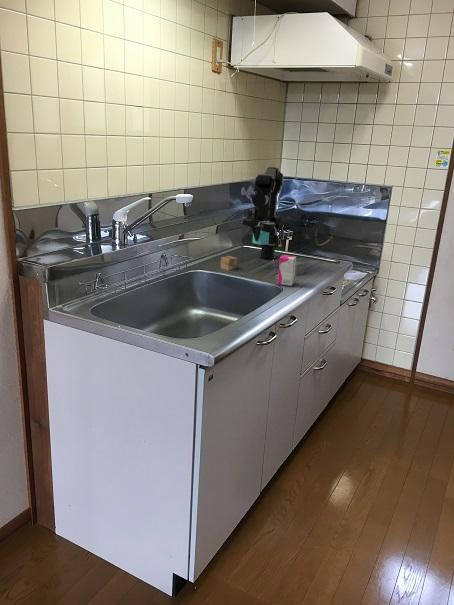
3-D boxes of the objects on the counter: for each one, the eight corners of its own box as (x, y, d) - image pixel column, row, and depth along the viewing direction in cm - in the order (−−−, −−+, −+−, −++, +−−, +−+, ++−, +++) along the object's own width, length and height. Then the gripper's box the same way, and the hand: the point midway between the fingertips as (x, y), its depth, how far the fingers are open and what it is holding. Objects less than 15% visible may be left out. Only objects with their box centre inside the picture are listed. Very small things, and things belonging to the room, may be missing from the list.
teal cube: (260, 241, 222) (261, 230, 221) (268, 243, 219) (269, 232, 217) (252, 242, 219) (253, 231, 217) (260, 244, 215) (261, 233, 214)
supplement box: (294, 283, 203) (296, 256, 200) (291, 287, 198) (293, 259, 194) (280, 281, 205) (282, 254, 202) (277, 285, 200) (279, 257, 196)
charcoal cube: (294, 271, 222) (295, 260, 221) (303, 273, 219) (304, 262, 217) (287, 272, 219) (288, 261, 217) (296, 275, 216) (297, 264, 214)
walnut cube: (228, 266, 224) (229, 255, 223) (236, 269, 221) (237, 258, 219) (220, 268, 221) (221, 257, 219) (228, 270, 218) (228, 259, 216)
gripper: (264, 201, 225) (261, 235, 230) (234, 203, 213) (232, 239, 218) (282, 204, 217) (279, 239, 222) (253, 206, 205) (250, 244, 210)
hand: (260, 240), depth 218 cm, fingers closed on teal cube, 5 cm apart
